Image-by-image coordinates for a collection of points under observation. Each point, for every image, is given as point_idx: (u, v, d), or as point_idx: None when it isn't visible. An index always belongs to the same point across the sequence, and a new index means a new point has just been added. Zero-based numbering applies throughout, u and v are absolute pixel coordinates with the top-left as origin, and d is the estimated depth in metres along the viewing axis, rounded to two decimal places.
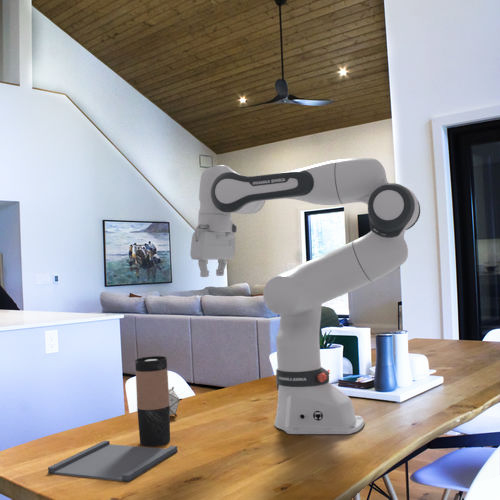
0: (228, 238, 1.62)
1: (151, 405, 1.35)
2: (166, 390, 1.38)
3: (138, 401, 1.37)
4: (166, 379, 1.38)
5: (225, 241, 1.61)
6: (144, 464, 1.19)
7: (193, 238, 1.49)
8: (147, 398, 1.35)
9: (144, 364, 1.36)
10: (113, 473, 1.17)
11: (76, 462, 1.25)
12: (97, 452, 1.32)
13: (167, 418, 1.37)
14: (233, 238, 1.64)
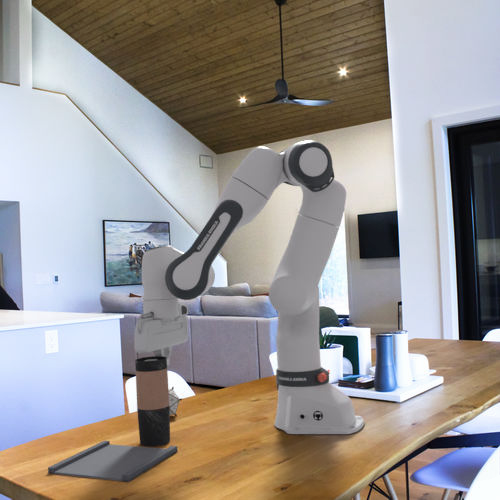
0: (179, 321, 1.49)
1: (151, 405, 1.35)
2: (166, 390, 1.38)
3: (137, 401, 1.37)
4: (166, 379, 1.38)
5: (175, 325, 1.48)
6: (144, 464, 1.19)
7: (136, 330, 1.36)
8: (147, 398, 1.35)
9: (144, 364, 1.36)
10: (113, 473, 1.17)
11: (76, 462, 1.25)
12: (97, 452, 1.32)
13: (167, 418, 1.37)
14: (185, 320, 1.51)
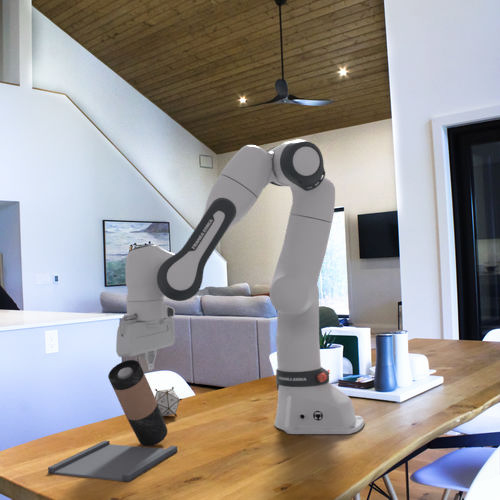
0: (165, 324, 1.43)
1: (138, 416, 1.31)
2: (149, 395, 1.32)
3: (124, 412, 1.32)
4: (146, 386, 1.31)
5: (161, 327, 1.42)
6: (144, 464, 1.19)
7: (118, 333, 1.30)
8: (132, 411, 1.30)
9: (119, 384, 1.27)
10: (113, 473, 1.17)
11: (76, 462, 1.25)
12: (97, 452, 1.32)
13: (158, 418, 1.34)
14: (171, 322, 1.45)
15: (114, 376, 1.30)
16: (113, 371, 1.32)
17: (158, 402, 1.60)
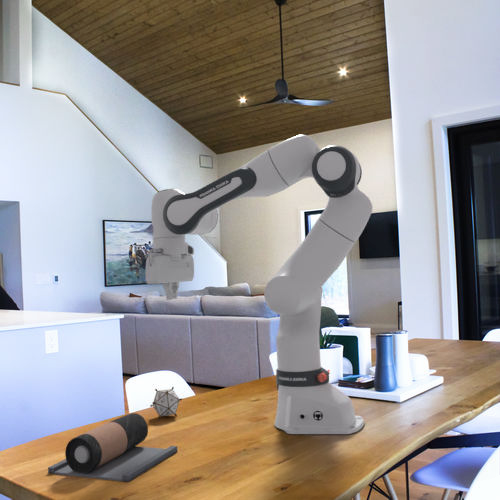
0: (186, 260, 1.63)
1: (123, 448, 1.26)
2: (112, 433, 1.24)
3: None
4: (104, 436, 1.22)
5: (182, 263, 1.61)
6: (144, 464, 1.19)
7: (147, 263, 1.50)
8: (117, 454, 1.25)
9: (93, 467, 1.18)
10: (113, 473, 1.17)
11: None
12: None
13: (131, 425, 1.30)
14: (191, 260, 1.64)
15: (78, 465, 1.19)
16: (70, 462, 1.20)
17: (158, 402, 1.60)
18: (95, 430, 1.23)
